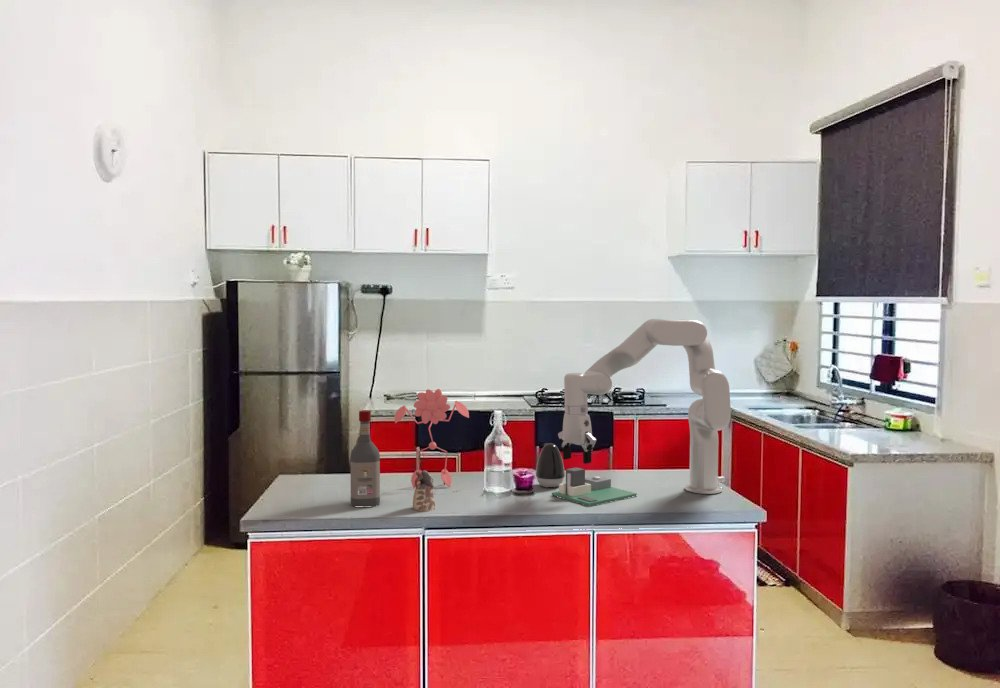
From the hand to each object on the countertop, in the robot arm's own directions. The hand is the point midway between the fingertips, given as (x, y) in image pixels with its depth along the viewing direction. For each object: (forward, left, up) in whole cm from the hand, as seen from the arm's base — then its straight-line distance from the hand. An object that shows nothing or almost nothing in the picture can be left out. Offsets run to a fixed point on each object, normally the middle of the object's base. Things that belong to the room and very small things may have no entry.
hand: (577, 460), depth 269 cm
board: (-4, +4, -12) cm, 13 cm away
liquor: (+62, -33, -12) cm, 71 cm away
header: (+1, 0, -12) cm, 12 cm away
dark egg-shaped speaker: (-2, -16, -12) cm, 20 cm away
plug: (+1, 0, -11) cm, 11 cm away
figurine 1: (+34, -37, -12) cm, 52 cm away
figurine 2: (+50, -17, -12) cm, 54 cm away
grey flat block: (-11, -2, -11) cm, 16 cm away
